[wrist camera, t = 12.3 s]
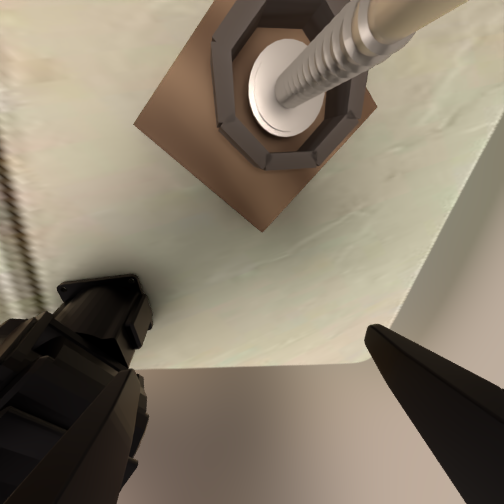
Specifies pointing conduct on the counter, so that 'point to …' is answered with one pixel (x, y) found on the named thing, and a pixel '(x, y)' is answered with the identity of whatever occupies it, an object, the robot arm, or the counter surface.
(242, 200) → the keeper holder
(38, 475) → the robot arm
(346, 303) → the counter surface
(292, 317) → the counter surface
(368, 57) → the screw
